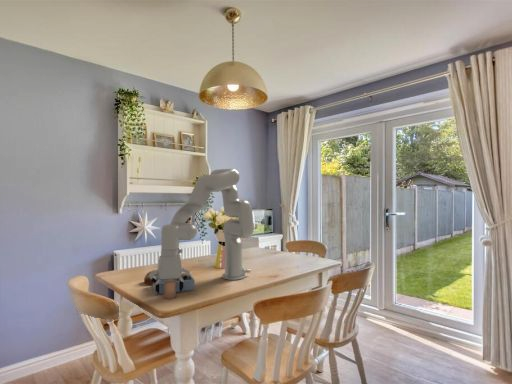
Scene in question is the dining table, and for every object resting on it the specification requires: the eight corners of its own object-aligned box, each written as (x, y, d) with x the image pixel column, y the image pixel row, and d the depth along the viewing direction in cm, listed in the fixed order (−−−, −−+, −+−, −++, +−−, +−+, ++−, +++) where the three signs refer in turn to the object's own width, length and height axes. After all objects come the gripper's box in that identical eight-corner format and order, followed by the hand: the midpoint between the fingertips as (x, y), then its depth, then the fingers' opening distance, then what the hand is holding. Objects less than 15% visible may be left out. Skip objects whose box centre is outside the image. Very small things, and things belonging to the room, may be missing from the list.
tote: (189, 282, 156) (189, 272, 156) (194, 290, 143) (194, 279, 143) (153, 286, 149) (153, 276, 149) (155, 294, 136) (155, 283, 136)
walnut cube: (177, 285, 149) (177, 274, 149) (187, 283, 151) (187, 273, 151) (178, 288, 145) (178, 277, 145) (189, 286, 146) (189, 276, 146)
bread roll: (160, 286, 161) (156, 271, 164) (170, 281, 156) (166, 265, 158) (142, 290, 154) (139, 275, 156) (153, 285, 148) (149, 269, 150)
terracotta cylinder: (175, 294, 137) (175, 279, 137) (176, 298, 133) (176, 282, 133) (163, 295, 135) (163, 280, 135) (164, 299, 131) (164, 283, 131)
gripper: (188, 250, 141) (187, 287, 140) (148, 252, 134) (148, 291, 134) (191, 253, 134) (190, 292, 134) (149, 255, 127) (149, 296, 127)
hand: (169, 291), depth 134 cm, fingers open, 9 cm apart
